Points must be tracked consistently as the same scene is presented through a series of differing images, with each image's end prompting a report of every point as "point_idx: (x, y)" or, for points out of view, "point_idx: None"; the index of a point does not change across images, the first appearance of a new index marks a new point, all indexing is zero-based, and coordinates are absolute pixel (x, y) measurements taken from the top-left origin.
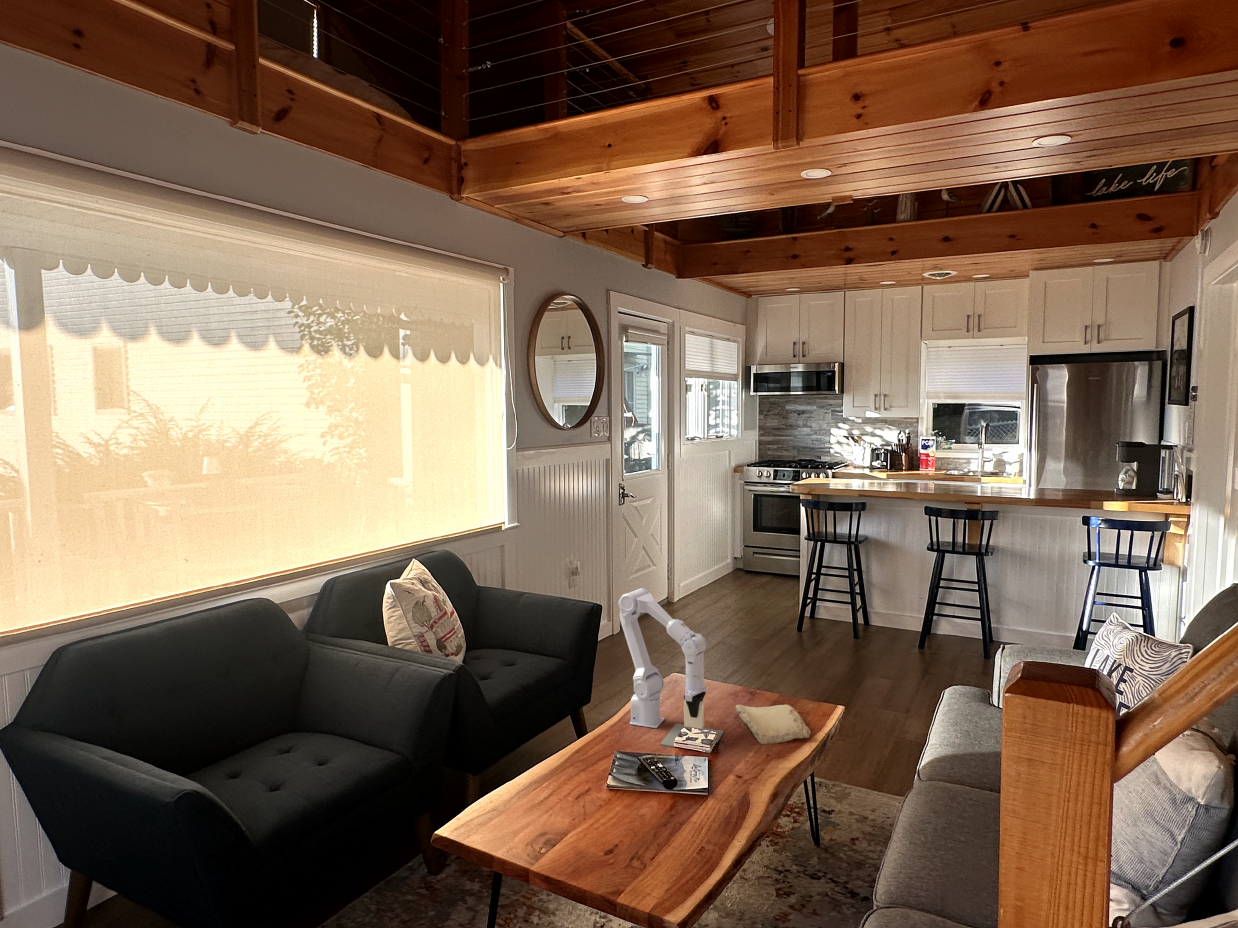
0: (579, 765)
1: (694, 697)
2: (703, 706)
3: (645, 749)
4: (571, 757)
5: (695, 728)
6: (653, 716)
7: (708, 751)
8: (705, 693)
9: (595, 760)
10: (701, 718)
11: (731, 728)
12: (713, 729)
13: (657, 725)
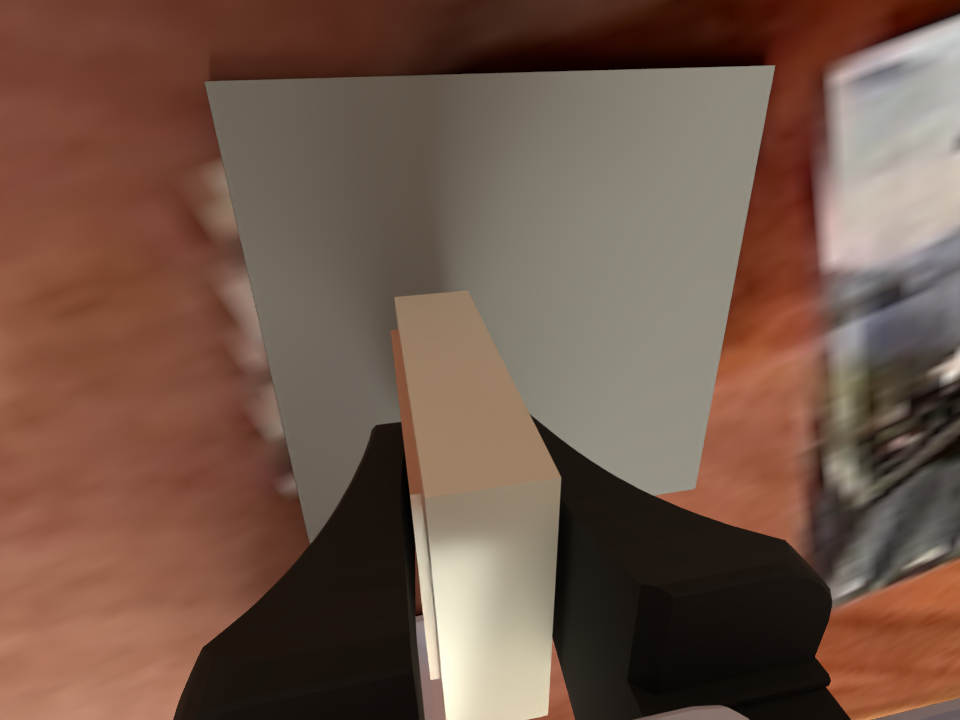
0: (948, 650)
1: (798, 694)
2: (421, 434)
3: (762, 520)
4: (876, 705)
5: (321, 385)
6: (426, 708)
7: (769, 85)
8: (277, 644)
9: (902, 631)
10: (491, 348)
11: (27, 10)
12: (243, 215)
13: (417, 625)
